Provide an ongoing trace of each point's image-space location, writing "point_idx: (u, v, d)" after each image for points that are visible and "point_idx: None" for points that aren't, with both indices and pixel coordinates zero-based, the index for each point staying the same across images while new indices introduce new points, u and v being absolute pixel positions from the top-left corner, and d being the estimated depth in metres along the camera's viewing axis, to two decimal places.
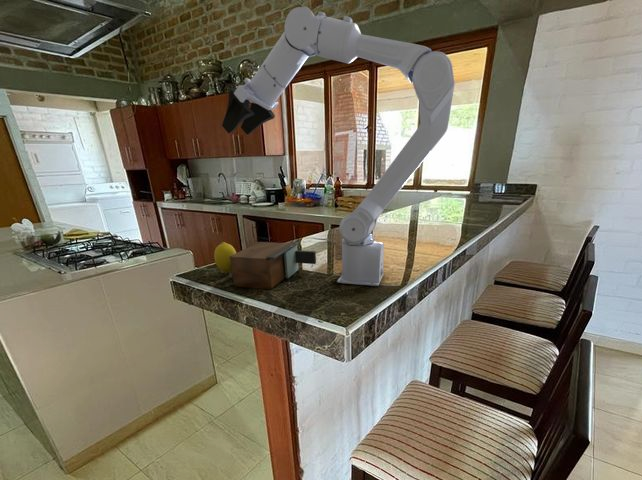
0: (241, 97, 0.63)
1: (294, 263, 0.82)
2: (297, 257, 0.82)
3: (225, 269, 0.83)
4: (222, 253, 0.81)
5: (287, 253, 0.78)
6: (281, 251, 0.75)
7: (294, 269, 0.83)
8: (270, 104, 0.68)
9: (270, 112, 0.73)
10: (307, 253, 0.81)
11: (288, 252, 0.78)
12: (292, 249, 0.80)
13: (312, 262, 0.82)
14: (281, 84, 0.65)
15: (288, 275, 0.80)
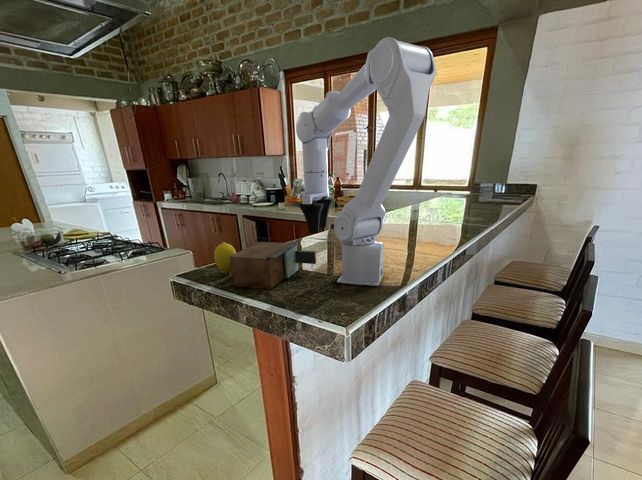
0: (308, 200, 0.75)
1: (294, 263, 0.82)
2: (297, 257, 0.82)
3: (225, 269, 0.83)
4: (222, 253, 0.81)
5: (287, 253, 0.78)
6: (281, 251, 0.75)
7: (294, 269, 0.83)
8: (326, 190, 0.80)
9: (328, 199, 0.85)
10: (307, 253, 0.81)
11: (288, 252, 0.78)
12: (292, 249, 0.80)
13: (312, 262, 0.82)
14: (318, 171, 0.76)
15: (288, 275, 0.80)
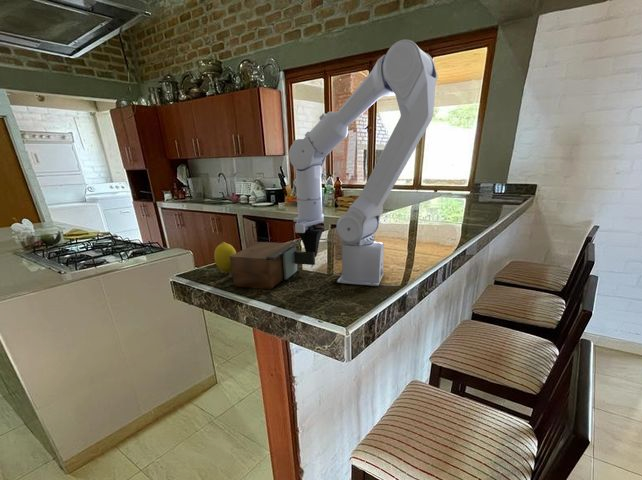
0: (301, 229, 0.73)
1: (293, 263, 0.81)
2: (296, 258, 0.82)
3: (225, 269, 0.83)
4: (222, 253, 0.81)
5: (286, 254, 0.77)
6: (281, 251, 0.75)
7: (293, 270, 0.82)
8: (320, 217, 0.77)
9: (319, 226, 0.80)
10: (306, 254, 0.81)
11: (287, 253, 0.77)
12: (291, 250, 0.80)
13: (311, 263, 0.81)
14: (316, 198, 0.75)
15: (287, 276, 0.79)
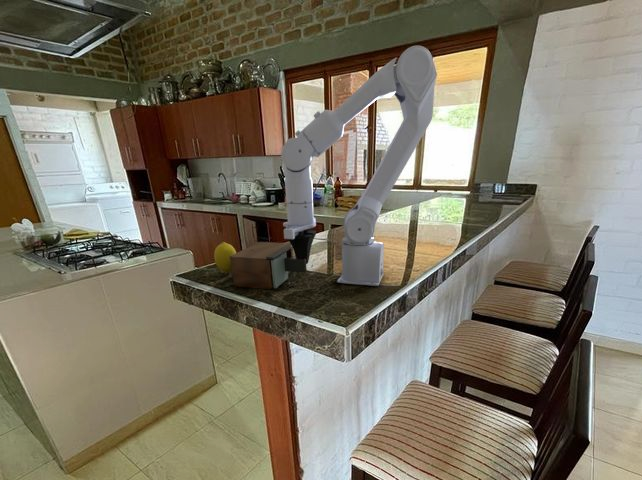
0: (291, 235, 0.68)
1: (283, 271, 0.76)
2: (286, 265, 0.77)
3: (225, 269, 0.83)
4: (222, 253, 0.81)
5: (275, 261, 0.72)
6: (281, 251, 0.75)
7: (283, 278, 0.77)
8: (312, 222, 0.72)
9: (310, 232, 0.75)
10: (297, 261, 0.75)
11: (276, 260, 0.72)
12: (280, 257, 0.74)
13: (302, 270, 0.76)
14: (311, 201, 0.70)
15: (276, 285, 0.74)
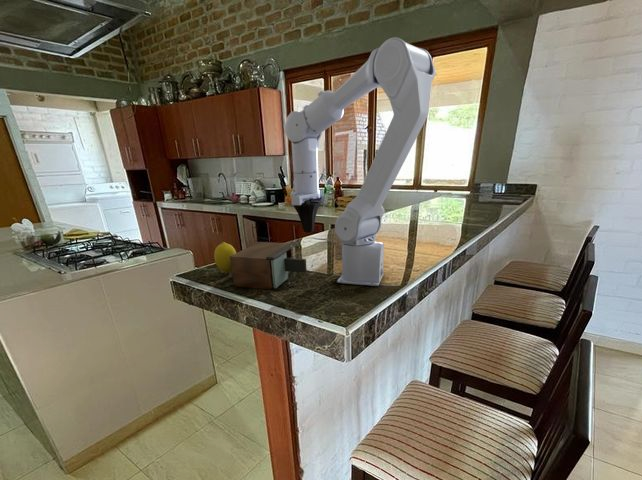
0: (298, 202, 0.74)
1: (283, 271, 0.76)
2: (286, 265, 0.77)
3: (225, 269, 0.83)
4: (222, 253, 0.81)
5: (275, 261, 0.72)
6: (281, 251, 0.75)
7: (283, 278, 0.77)
8: (317, 191, 0.78)
9: (315, 201, 0.81)
10: (297, 261, 0.75)
11: (276, 260, 0.72)
12: (280, 257, 0.74)
13: (302, 270, 0.76)
14: (310, 171, 0.75)
15: (276, 285, 0.74)
